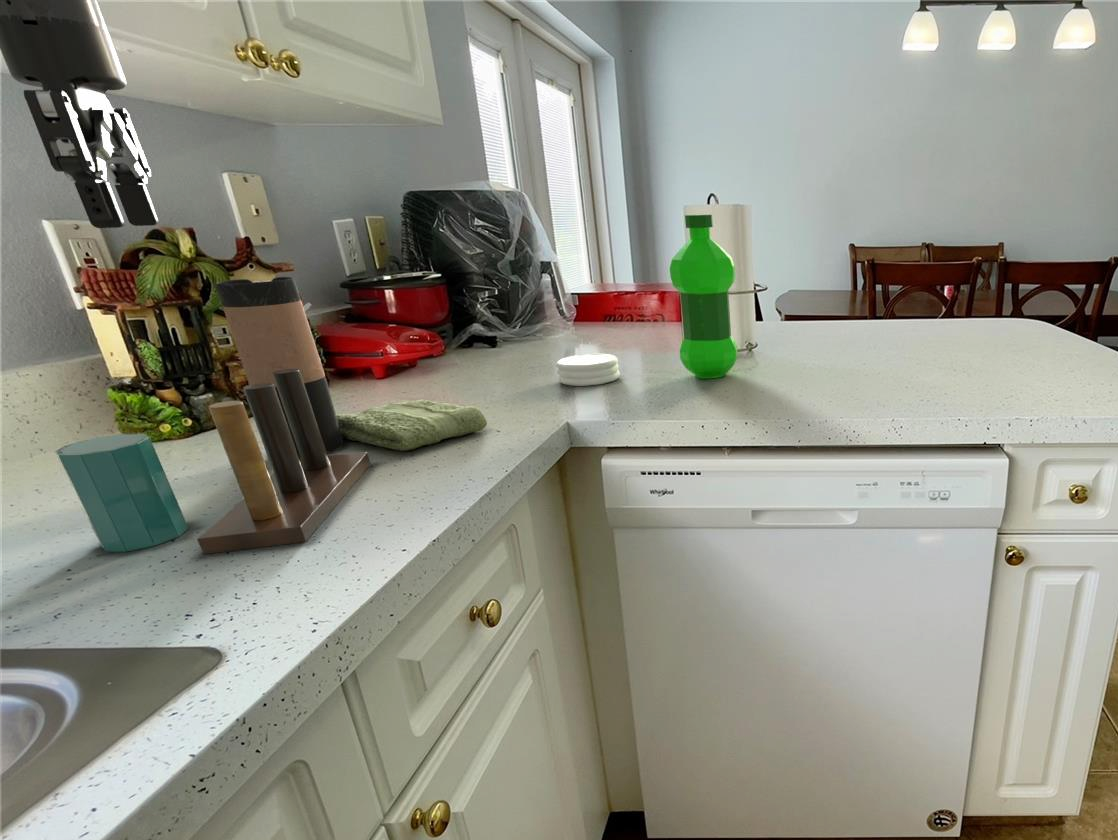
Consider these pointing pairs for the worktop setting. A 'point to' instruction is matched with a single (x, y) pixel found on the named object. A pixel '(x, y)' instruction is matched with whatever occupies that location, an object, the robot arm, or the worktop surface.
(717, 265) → the plastic bottle
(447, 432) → the washcloth
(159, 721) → the worktop surface
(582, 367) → the white stacked discs
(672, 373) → the worktop surface
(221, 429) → the drying rack
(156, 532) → the teal octagonal prism
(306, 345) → the travel mug
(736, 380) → the worktop surface
